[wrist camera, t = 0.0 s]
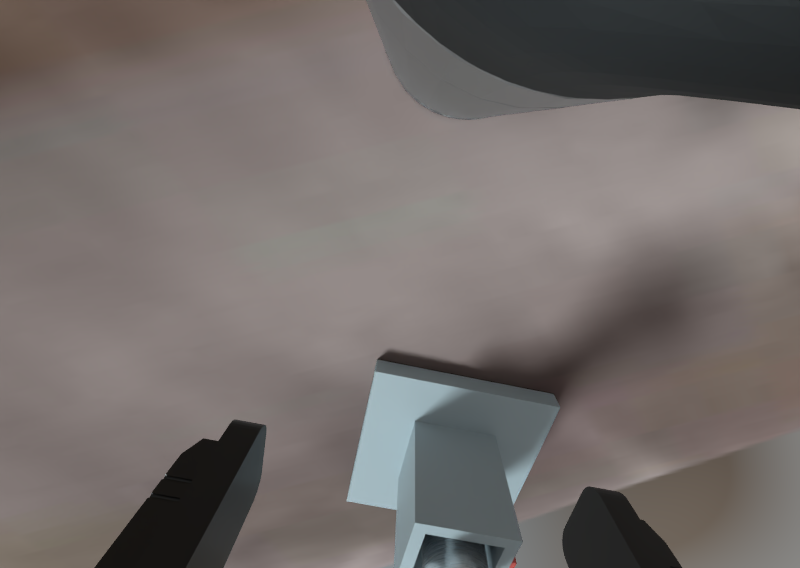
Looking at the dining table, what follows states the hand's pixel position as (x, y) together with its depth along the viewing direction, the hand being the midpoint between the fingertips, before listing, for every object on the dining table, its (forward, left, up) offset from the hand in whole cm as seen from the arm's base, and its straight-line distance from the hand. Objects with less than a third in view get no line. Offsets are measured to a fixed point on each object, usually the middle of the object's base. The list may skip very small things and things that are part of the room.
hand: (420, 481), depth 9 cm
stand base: (+16, +6, -17) cm, 24 cm away
